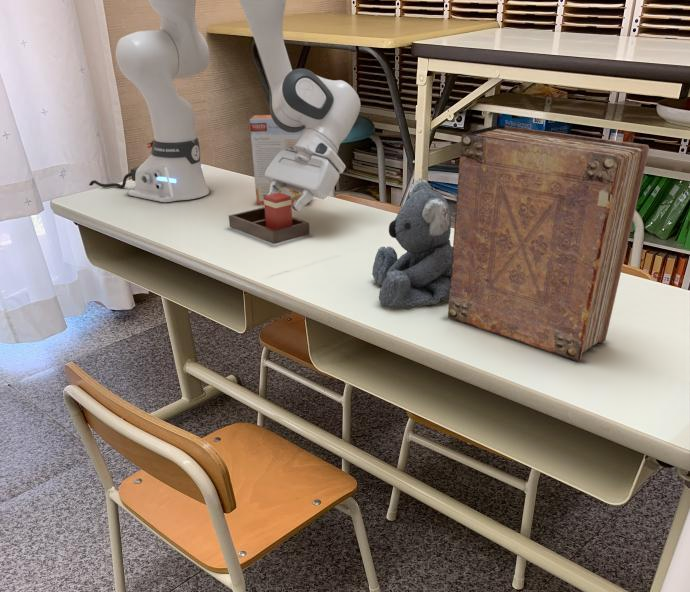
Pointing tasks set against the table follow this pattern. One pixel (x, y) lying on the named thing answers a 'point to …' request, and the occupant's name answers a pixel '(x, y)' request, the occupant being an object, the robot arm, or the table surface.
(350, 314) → the table surface
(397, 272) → the koala plush
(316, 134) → the robot arm
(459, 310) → the book
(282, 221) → the carton
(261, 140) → the cracker box
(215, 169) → the table surface
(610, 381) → the table surface
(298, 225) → the organiser
